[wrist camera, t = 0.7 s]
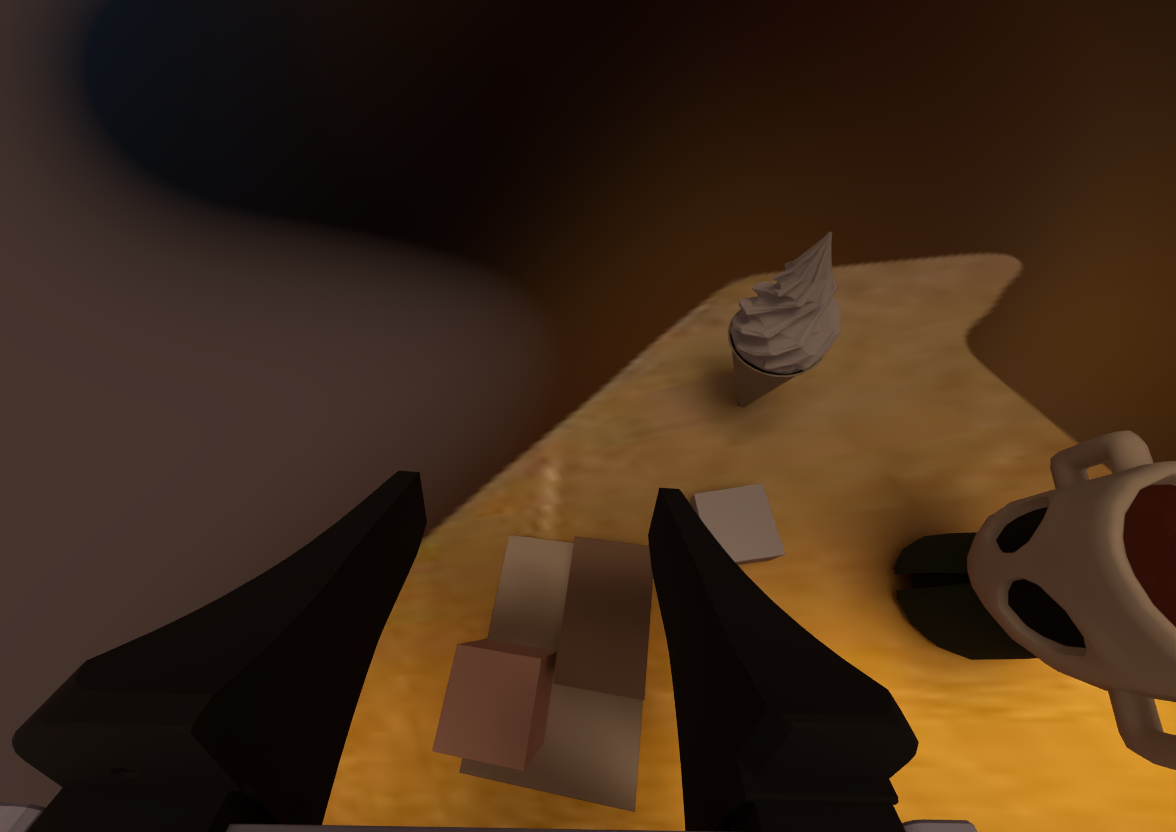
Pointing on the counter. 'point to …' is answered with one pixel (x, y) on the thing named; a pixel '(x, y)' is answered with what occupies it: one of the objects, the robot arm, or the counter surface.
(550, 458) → the counter surface
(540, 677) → the terracotta cube
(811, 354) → the ice cream cone
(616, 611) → the walnut bar
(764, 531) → the grey block
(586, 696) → the birch board
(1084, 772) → the counter surface
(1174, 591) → the character mug
